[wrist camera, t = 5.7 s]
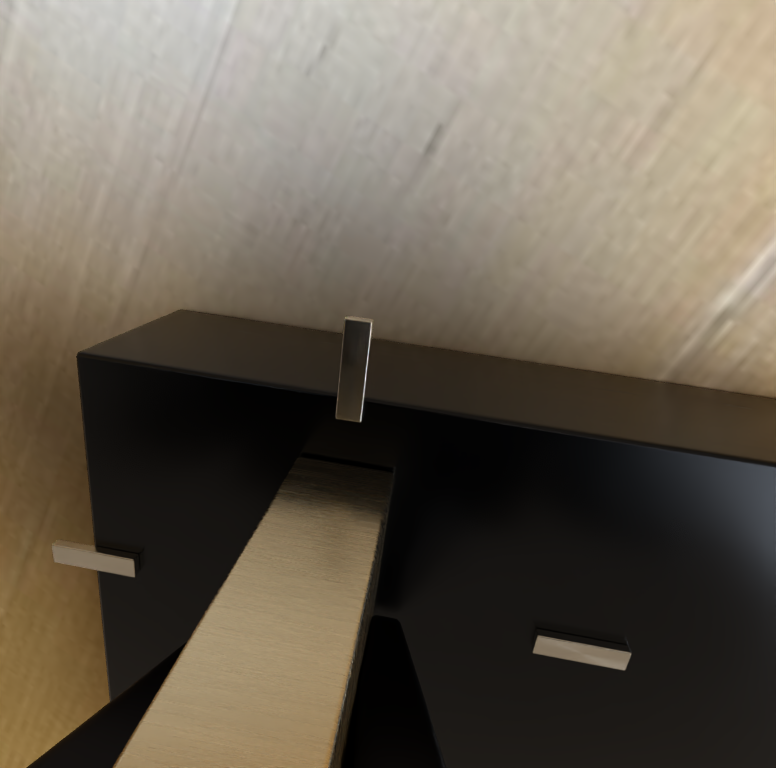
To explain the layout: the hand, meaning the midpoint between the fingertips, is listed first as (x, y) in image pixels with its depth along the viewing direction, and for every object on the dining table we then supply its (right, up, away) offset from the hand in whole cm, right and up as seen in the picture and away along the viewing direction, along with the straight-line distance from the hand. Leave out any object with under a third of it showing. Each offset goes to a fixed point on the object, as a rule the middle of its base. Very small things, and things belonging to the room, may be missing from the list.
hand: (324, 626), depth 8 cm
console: (+2, -2, +4) cm, 5 cm away
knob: (0, 0, 0) cm, 0 cm away
